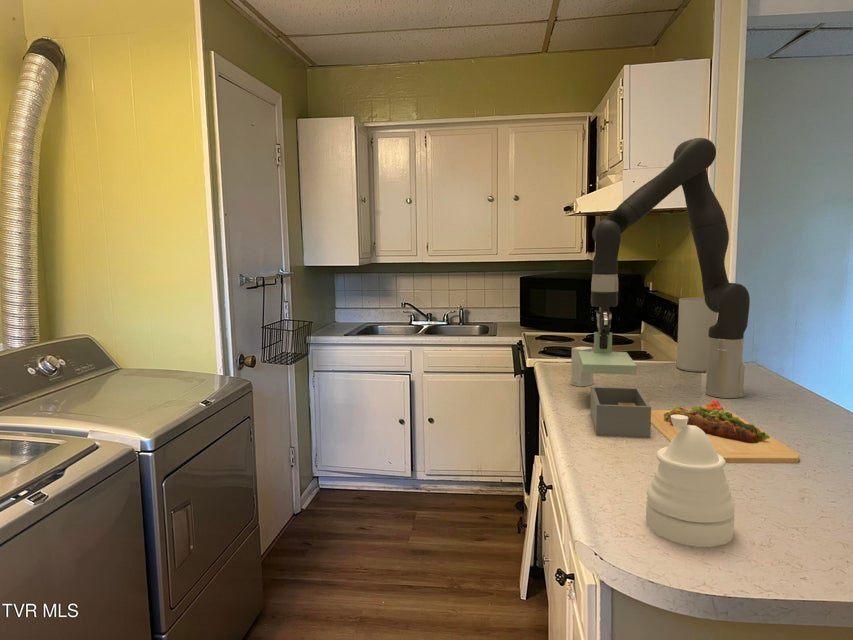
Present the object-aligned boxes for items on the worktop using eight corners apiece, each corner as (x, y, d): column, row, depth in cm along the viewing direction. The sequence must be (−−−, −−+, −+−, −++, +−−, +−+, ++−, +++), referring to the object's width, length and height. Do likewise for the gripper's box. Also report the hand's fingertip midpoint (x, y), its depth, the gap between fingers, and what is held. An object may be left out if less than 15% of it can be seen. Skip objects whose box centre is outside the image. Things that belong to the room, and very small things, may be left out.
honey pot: (645, 538, 91) (649, 426, 88) (646, 504, 103) (649, 404, 100) (739, 553, 86) (745, 434, 84) (728, 515, 98) (733, 410, 96)
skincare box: (580, 387, 186) (581, 349, 185) (570, 384, 190) (570, 347, 188) (594, 384, 190) (594, 347, 188) (583, 382, 193) (583, 345, 192)
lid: (626, 360, 174) (627, 332, 173) (636, 374, 155) (637, 343, 154) (578, 359, 177) (578, 331, 176) (582, 373, 158) (583, 342, 157)
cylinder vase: (673, 370, 208) (675, 300, 205) (680, 364, 219) (683, 297, 215) (711, 374, 201) (714, 301, 198) (717, 367, 211) (720, 298, 208)
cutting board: (637, 416, 156) (638, 388, 155) (728, 416, 155) (729, 388, 154) (687, 465, 122) (689, 430, 121) (805, 466, 120) (807, 430, 119)
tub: (638, 418, 152) (639, 388, 151) (650, 441, 135) (651, 407, 134) (590, 416, 155) (590, 386, 154) (596, 438, 137) (596, 405, 136)
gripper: (620, 291, 164) (619, 352, 166) (615, 288, 177) (613, 344, 180) (593, 291, 166) (591, 352, 168) (589, 288, 179) (588, 344, 181)
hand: (603, 348), depth 174 cm, fingers closed on lid, 1 cm apart
